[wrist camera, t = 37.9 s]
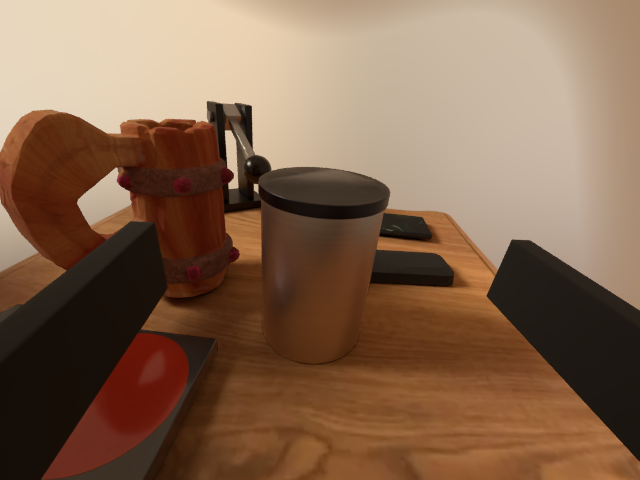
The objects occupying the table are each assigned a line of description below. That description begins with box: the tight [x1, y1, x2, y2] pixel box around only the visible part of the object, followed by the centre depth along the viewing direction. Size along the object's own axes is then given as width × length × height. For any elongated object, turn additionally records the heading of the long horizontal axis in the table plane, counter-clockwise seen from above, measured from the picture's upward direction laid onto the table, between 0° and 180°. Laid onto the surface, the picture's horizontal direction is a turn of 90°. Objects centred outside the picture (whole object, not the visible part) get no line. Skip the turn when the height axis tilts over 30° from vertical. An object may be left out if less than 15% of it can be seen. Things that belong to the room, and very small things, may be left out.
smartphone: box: [380, 213, 432, 239], centre depth 42 cm, size 7×1×15 cm
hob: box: [41, 329, 218, 480], centre depth 16 cm, size 9×9×1 cm
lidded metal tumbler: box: [258, 167, 390, 364], centre depth 21 cm, size 8×8×12 cm
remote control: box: [370, 250, 454, 286], centre depth 31 cm, size 5×2×15 cm
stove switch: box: [207, 101, 261, 212], centre depth 43 cm, size 7×8×15 cm
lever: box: [223, 104, 271, 184], centre depth 38 cm, size 14×4×4 cm, turn 34°
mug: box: [0, 110, 240, 298], centre depth 22 cm, size 15×8×15 cm, turn 151°
